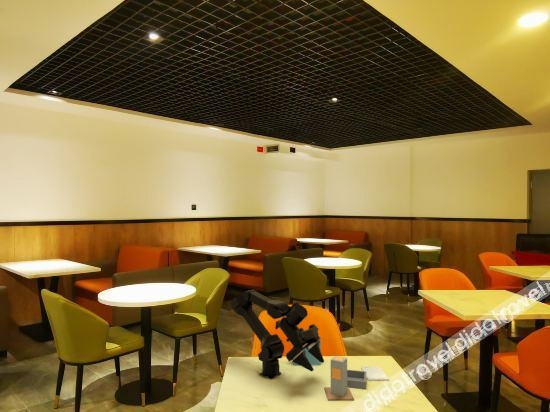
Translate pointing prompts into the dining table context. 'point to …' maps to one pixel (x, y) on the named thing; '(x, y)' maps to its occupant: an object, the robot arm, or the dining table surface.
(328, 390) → the walnut pad
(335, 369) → the labelled box
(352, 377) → the parts bin
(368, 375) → the hard drive
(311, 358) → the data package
